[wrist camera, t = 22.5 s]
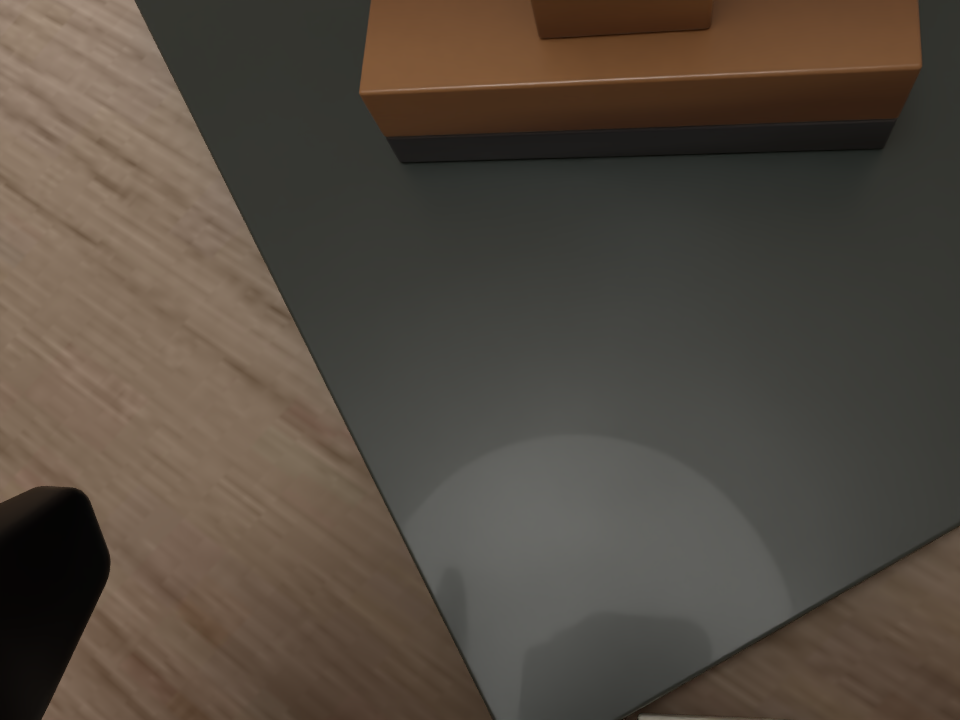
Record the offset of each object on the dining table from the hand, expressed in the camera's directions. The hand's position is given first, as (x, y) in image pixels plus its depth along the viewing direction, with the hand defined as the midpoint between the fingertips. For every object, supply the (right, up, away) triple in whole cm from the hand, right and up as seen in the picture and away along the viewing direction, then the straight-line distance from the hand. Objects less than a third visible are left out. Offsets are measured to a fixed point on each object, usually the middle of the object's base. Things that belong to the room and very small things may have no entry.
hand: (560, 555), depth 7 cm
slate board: (+3, +7, +10) cm, 13 cm away
